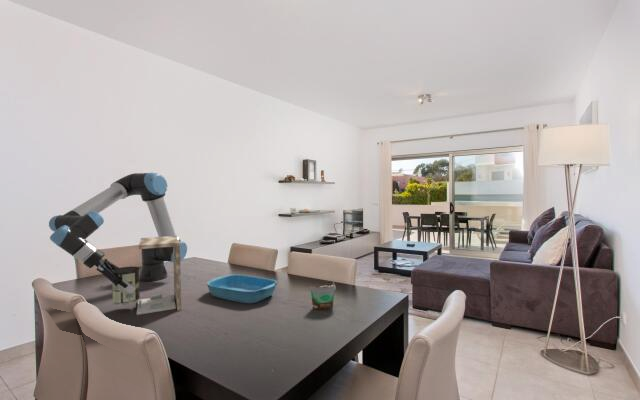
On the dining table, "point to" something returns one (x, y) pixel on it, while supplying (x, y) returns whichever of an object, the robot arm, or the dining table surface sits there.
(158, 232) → the robot arm
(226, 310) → the dining table surface
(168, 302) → the seat plate
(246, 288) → the casserole dish
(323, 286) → the food container
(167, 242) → the shelf hood
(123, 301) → the coffee can
